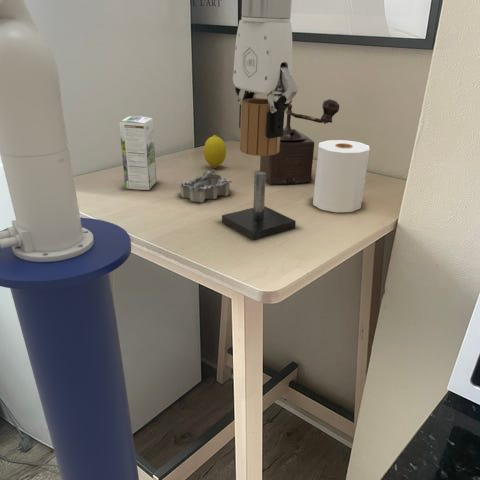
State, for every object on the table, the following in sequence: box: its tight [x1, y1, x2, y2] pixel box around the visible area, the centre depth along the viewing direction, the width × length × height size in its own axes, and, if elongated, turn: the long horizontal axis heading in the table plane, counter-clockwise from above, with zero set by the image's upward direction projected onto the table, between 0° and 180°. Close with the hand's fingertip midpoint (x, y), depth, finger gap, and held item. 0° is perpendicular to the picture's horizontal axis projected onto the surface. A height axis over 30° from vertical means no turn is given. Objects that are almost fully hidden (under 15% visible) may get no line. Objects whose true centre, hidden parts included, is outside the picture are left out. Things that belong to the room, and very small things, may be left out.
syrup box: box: [119, 115, 157, 191], centre depth 109 cm, size 6×6×14 cm
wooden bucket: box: [239, 97, 280, 157], centre depth 85 cm, size 7×7×8 cm
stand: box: [221, 171, 297, 241], centre depth 92 cm, size 10×10×10 cm
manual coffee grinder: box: [259, 98, 340, 186], centre depth 116 cm, size 16×11×18 cm
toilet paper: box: [312, 139, 371, 214], centre depth 102 cm, size 10×10×12 cm
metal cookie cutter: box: [178, 169, 233, 203], centre depth 108 cm, size 11×8×4 cm
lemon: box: [203, 134, 227, 169], centre depth 124 cm, size 6×6×8 cm
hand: (260, 131), depth 85 cm, fingers closed on wooden bucket, 6 cm apart
